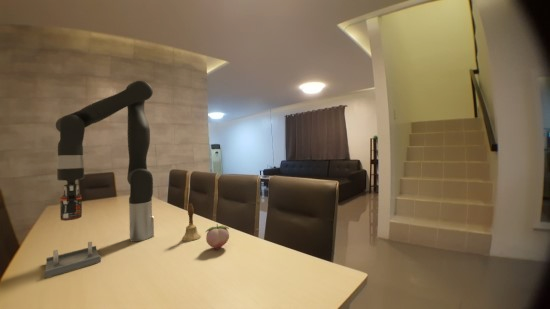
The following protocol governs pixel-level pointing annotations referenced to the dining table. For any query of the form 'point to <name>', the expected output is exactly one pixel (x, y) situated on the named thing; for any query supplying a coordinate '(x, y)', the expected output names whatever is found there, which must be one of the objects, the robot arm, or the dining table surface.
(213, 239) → the decorative fruit
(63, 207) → the supplement bottle
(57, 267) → the pin tray
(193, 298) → the dining table surface
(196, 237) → the hand bell
